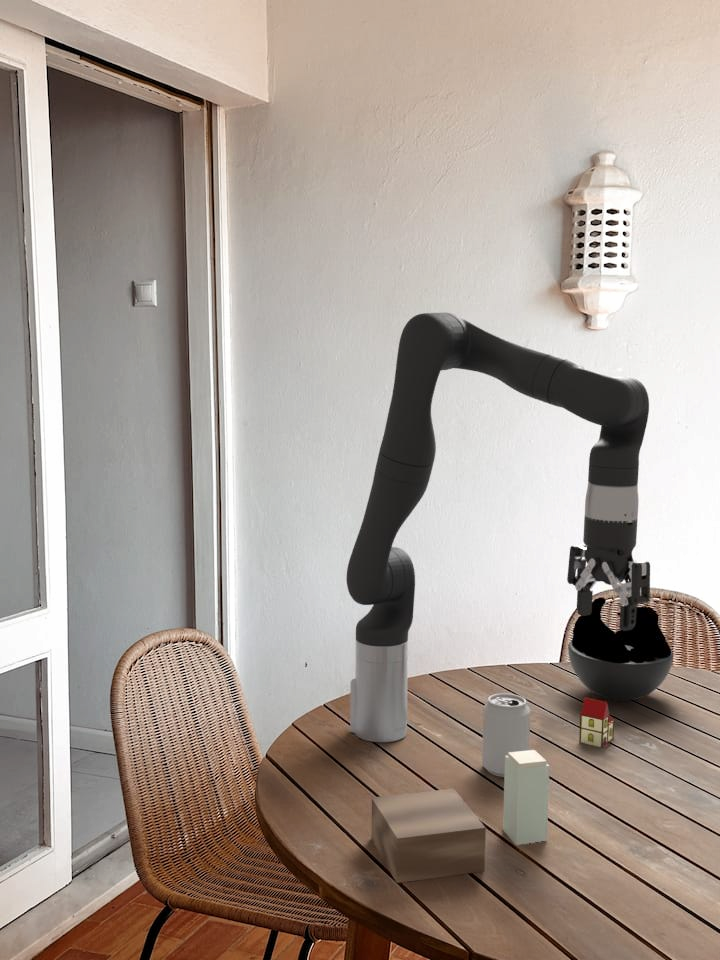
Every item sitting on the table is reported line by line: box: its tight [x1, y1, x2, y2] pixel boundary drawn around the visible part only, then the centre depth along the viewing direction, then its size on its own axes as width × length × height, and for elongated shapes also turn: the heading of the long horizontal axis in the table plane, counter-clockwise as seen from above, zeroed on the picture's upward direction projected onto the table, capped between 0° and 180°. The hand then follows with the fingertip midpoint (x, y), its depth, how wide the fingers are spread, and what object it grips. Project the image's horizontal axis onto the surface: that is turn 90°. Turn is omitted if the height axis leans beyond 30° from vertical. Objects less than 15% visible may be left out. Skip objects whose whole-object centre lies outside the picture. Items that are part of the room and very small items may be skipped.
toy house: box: [578, 696, 615, 749], centre depth 173 cm, size 6×7×8 cm
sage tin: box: [502, 749, 550, 846], centre depth 138 cm, size 5×5×12 cm
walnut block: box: [370, 788, 487, 884], centre depth 133 cm, size 12×12×6 cm
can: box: [481, 693, 531, 778], centre depth 160 cm, size 8×8×12 cm
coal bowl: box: [567, 596, 674, 702], centre depth 194 cm, size 20×20×19 cm
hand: (605, 622), depth 146 cm, fingers open, 8 cm apart
